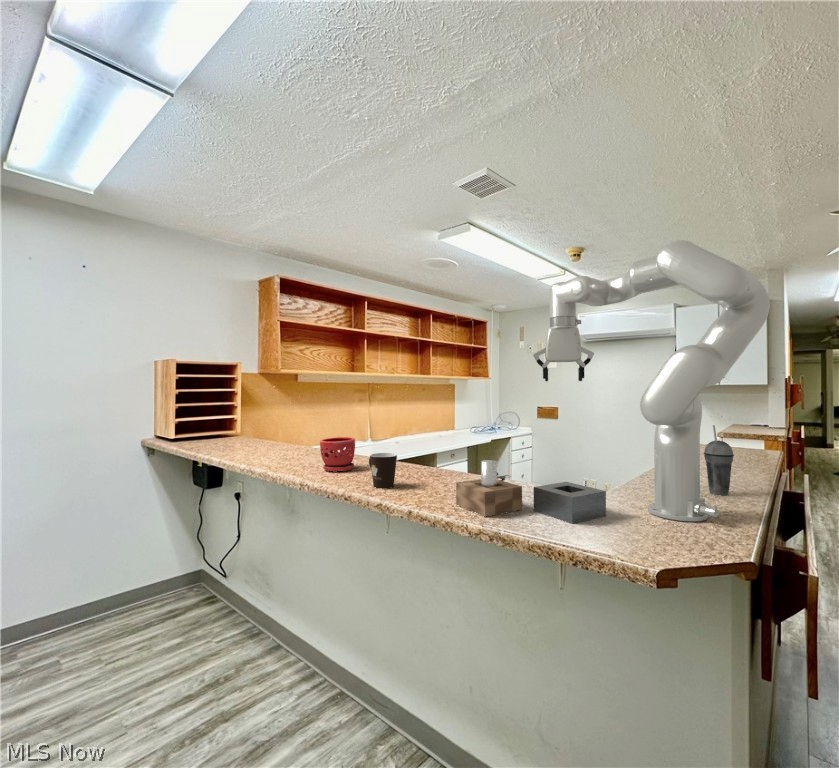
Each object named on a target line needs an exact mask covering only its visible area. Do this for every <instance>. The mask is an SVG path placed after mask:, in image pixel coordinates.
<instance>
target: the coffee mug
mask: <svg viewBox="0 0 839 768" xmlns="http://www.w3.org/2000/svg"><path fill="white" fill-rule="evenodd" d="M397 457H398V454H397V453H392V452H375V453H371V454H370V455H369V458H368V465H369V467H370V469H371V478H372V483H373V484H372V486H373V488H374V487H376V488H375V489H378V488H388V489H391V488H390V487H392V488H393V486H395V478H396V477H395V475H396V470H397V469H396V467H397V459H398V458H397Z"/></svg>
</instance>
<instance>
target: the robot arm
mask: <svg viewBox="0 0 839 768" xmlns="http://www.w3.org/2000/svg"><path fill="white" fill-rule="evenodd" d="M678 286H682V287H683V288H685V289H687V290H689V291H691V292H692V293H694V294H696V295H697V296H700V297H701V298H703V299H705V300H707V301H709V302H711V303H713V304H716V305H719V306H721V307H722V311H721V313H720V314H719V316H718V317H717V318H716V319H715V320H714V321H713V322H712V323H711V324H710V325H709V327H708V328H707V330H706V331H705V333H704V334H703V336H702V337H701V338H700V339H699V341H698V342H697V343H695V344H689V345H685V346H683V347H681V348H679V349H677V350H676V351H674V352H673V353H672V354H671V355H670V356H669V357H668V358H667V360H666V361H665V362H664V363H663V365H662V367H661V368H660V369H659V371H658V372H657V374H656V375H655V376H654V378H653V379H652V380H651V381H650V384H649V385H648V386H647V388H646V389H645V391H643V394H642V396H641V398H640V400H639V401H640V402H639V409H640V412H641V415H642V416H643V418H644V419H645V420H646V421H647V422H649V423H650V424H653V425H655V430H654V439H653V440H654V449H653V451H654V454H653V456H654V502H651V503H649V504H648V505H647V511H648V513H649V514H651V515H654V516H656V517H660V518H663V519H667V520H673V521H678V522H679V521H681V522H703V521H706V520H708V519H709V516H710V517H714V518H717V517H718V515H719V510H718V507H717V506H713V505H707V503H706V499H705V498H703V497H701V467H700V466H701V465H700V464H701V462H700V461H701V459H700V458H701V457H700V456H701V455H700V454H701V453H700V452H701V450H700V449H701V447H700V446H701V443H700V442H701V426H702V425H701V424H702V418H703V417H702V416H703V404H702V399H701V398H700V396H699V395H700V394H701V393H702V391H703V390H704V389H705V388H709V387H712V386H715V385H717V384H719V383H720V382H721V381H723V380H724V378H725V377H726V376H727V374H728V373H729V371H730V369H732V368H733V366H734V365H735V363H736V362H737V361H738V359H739V358H740V357H741V356H742V355H743V353H744V352H745V351H746V349H747V348H748V346H749V344H750V343H751V342H752V341H753V340H754V338H755V337H756V336H757V334H758V333H759V332H760V331H761V329H763V326H764V324H765V322H766V321H767V318H768V316H769V313H770V308H771V306H770V305H771V301H770V296H769V294H768V291H767V289H766V287H765V286H764V285H763V284H762V282H761V281H760V280H759V279H758V278H757V277H756V276H755V275H754V274H753V273H751V272H750V271H749V270H746V269H745V268H743V266H740V265H739V264H737V263H735V262H733V261H730V260H729V259H726V258H724V257H722V256H721V255H718V254H717V253H716V254H715V253H714V252H711V251H708V250H707V249H705V248H703V247H701V246H699V245H697V244H695V243H694V242H692V241H689V240H684V239H682V240H681V239H680V240H679V239H678V240H674V241H671V242H669V243H667V244H666V245H664V246H663V247H662V248H661V249H660V250H659V252H658V253H657V255H655V256H652V257H651V256H650V257H646V258H643V259H640V260H635V261H633V262H632V263H631V264H630V266H629V269H628V271H627V272H626V273H624V274H622V275H619V276H616V277H612V278H607V279H604V280H600V279H596V278H595V277H591V276H587V275H579V276H576V277H573V278H571V279H569V280H566V281H559V282H555V283H553V284H551V285H550V287H549V292H548V293H549V328H548V329H547V331H546V335H545V345H544V346H545V347H544V348H543V349H540V350H539V351H536V352H535V353H533V358H534V360H535V361H536V363H537V364H538V365H539V366H540V367H541V368H542V379H543V380H544V381H545V382H549V368H548V366H549V364H550V363H572V362H573V363H574V362H575V363H576V364H577V365H578V369H577V370H578V371H577V373H578V374H577V375H578V379H577V380H578V382H582V381H583V379H585V367H586V366H587V365H588V364H589V363H590V362H591V361H592V359H593V357H594V356H595V353H594V352H593V351H592V350H589V349H587V348H585V347H583V346H582V343H581V334H580V329H579V327H577V326H578V325H582V319H578V318H577V306H576V305H577V304H580V305H581V304H582V305H588V306H591V307H602V306H603V307H604V306H608V305H613V304H618V303H621V302H624V301H627V300H630V299H632V298H636V297H637V296H639V295H641V294H645V293H651V292H654V291H659V290H664V289H667V288H673V287H678ZM543 354H545V357H544V358H545V361H543V360H541V358H540V356H542V355H543ZM582 354H585V355H587V357H586V358H585V360H584V361H583V360H582Z"/></svg>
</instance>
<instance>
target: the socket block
mask: <svg viewBox="0 0 839 768" xmlns="http://www.w3.org/2000/svg"><path fill="white" fill-rule="evenodd" d="M533 511H534V512H536V513H539V514H542V515H545V516H548V517H550V518H553V517H554V519H556V518H557V520H559V519H560V521H562V520H563V522H565V521H566V523H568V522H569V524H573V525H574V524H577V523H581V522H586V521H591V520H594V518H595V519H599V518H602V516H603V517H607V491H606V490H604V489H599V488H594V487H590V486H586V485H582V484H577V483H574V482H569V481H562V482H555V483H549V484H544V485H537V486H533ZM598 517H599V518H598ZM590 519H591V520H590Z"/></svg>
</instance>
